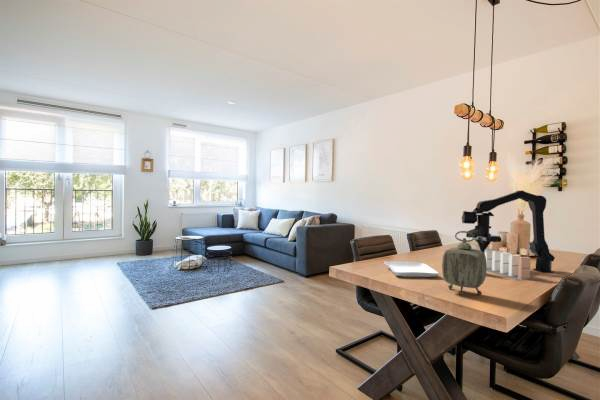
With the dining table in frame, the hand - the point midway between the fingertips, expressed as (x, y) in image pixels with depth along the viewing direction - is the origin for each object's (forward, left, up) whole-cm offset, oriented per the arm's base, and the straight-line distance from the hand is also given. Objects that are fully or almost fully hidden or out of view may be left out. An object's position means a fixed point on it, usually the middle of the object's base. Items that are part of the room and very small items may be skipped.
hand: (482, 252), depth 170 cm
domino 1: (0, +5, -7) cm, 9 cm away
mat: (0, +14, -8) cm, 17 cm away
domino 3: (0, +15, -7) cm, 17 cm away
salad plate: (+47, +5, -9) cm, 48 cm away
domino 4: (0, +20, -7) cm, 21 cm away
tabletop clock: (+44, +38, -8) cm, 59 cm away
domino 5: (0, +25, -7) cm, 26 cm away
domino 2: (0, +10, -7) cm, 12 cm away
